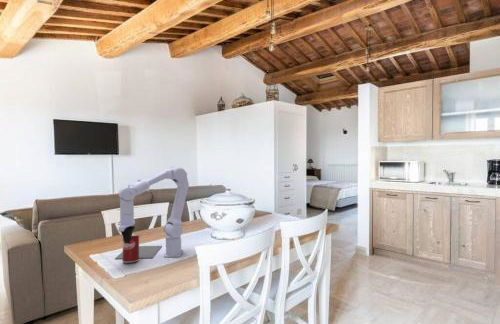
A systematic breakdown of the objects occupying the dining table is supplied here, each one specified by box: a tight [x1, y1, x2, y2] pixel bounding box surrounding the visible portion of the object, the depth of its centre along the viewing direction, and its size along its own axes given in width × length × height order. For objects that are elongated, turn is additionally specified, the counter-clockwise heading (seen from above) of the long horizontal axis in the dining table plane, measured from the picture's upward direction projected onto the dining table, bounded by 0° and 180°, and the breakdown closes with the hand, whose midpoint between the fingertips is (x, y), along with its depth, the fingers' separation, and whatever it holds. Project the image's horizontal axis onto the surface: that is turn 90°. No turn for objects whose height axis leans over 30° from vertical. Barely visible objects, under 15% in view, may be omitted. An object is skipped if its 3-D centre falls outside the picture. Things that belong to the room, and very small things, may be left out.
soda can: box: [121, 233, 140, 264], centre depth 139 cm, size 7×7×12 cm
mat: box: [114, 245, 163, 260], centre depth 151 cm, size 18×18×1 cm
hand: (127, 243), depth 134 cm, fingers closed
